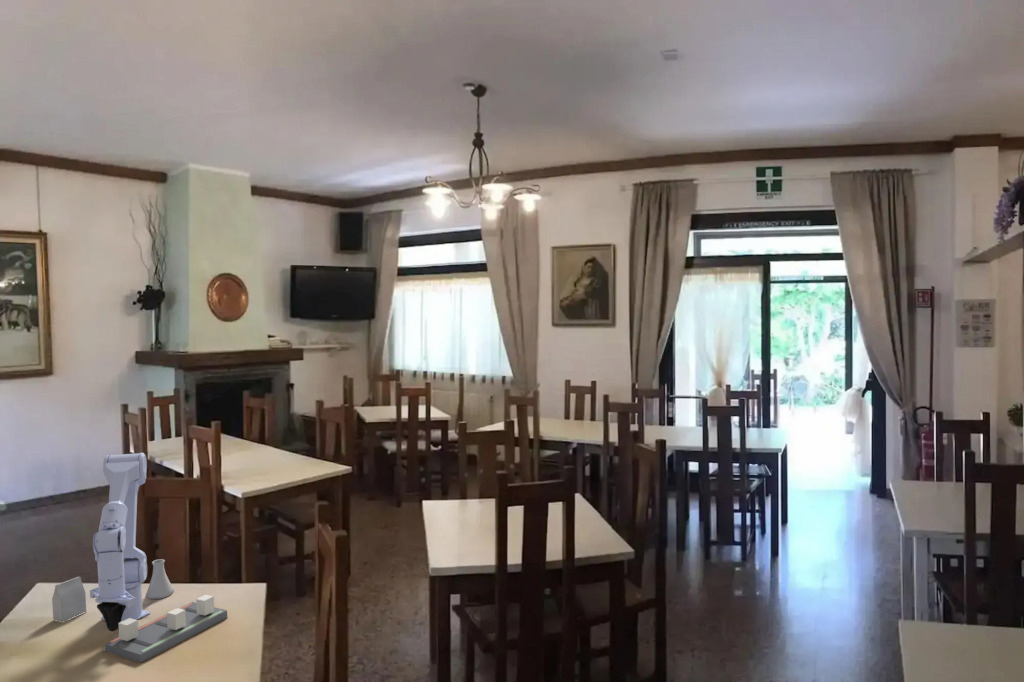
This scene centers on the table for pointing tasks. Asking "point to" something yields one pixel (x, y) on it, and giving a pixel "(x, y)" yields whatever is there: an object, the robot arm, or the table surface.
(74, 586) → the grey paper bag
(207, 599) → the switch far
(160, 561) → the flask
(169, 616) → the switch middle
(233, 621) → the table surface
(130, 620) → the switch
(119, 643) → the panel
